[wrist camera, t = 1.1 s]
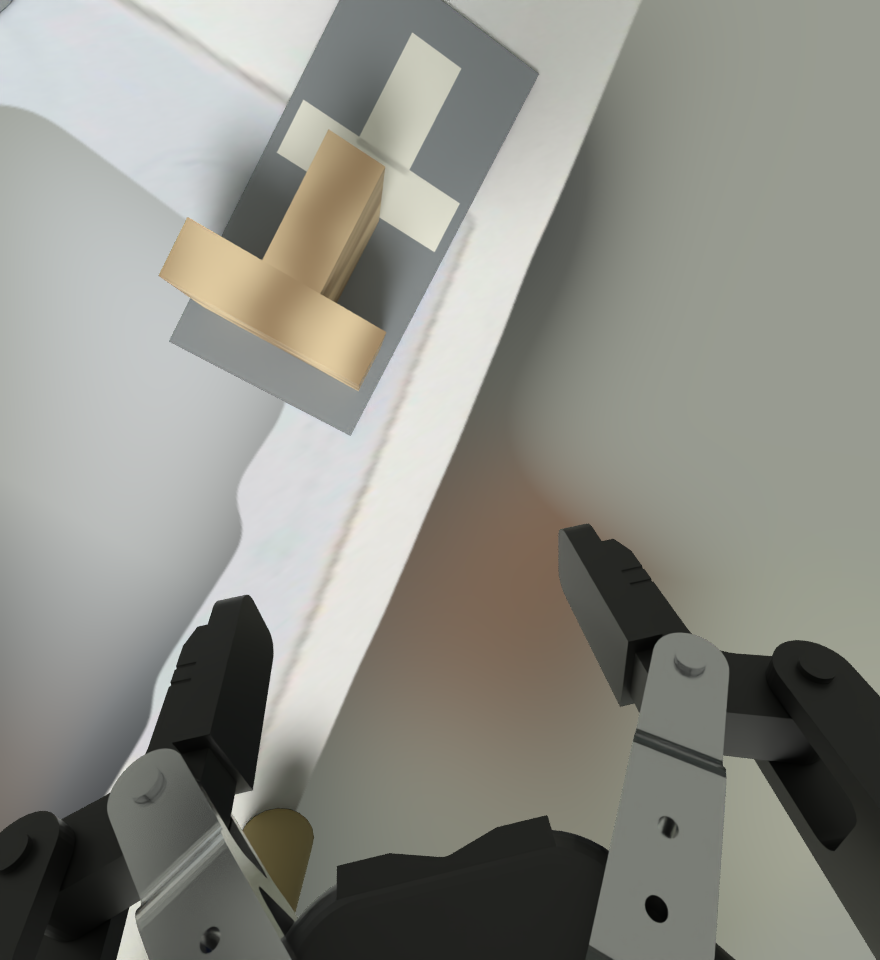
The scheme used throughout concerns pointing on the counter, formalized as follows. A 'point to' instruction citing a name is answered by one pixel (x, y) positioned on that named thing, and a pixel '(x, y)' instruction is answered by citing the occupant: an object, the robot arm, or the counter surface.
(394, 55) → the slate mat
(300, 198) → the oak T block
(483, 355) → the counter surface
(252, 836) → the tan rounded upright piece
